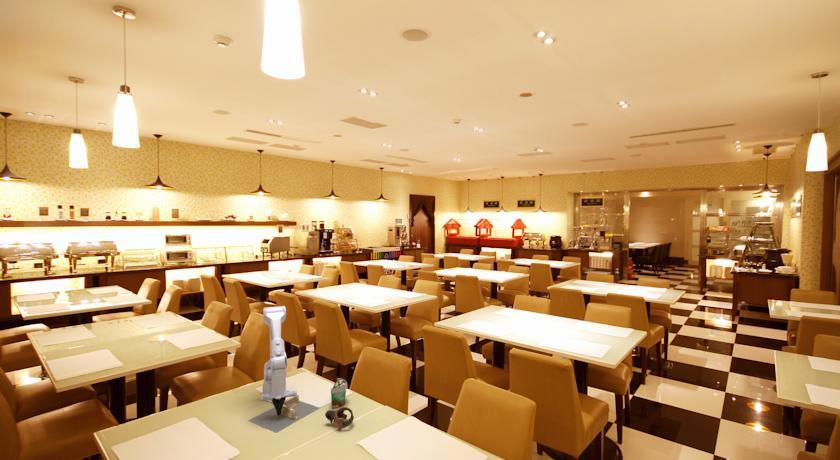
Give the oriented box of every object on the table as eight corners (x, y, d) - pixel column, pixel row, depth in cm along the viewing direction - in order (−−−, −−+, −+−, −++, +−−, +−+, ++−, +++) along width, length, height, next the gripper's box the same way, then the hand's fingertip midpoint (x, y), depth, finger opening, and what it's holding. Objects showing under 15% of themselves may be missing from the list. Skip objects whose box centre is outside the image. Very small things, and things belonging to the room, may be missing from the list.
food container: (344, 411, 179) (344, 389, 179) (330, 410, 179) (330, 388, 179) (349, 398, 191) (349, 377, 191) (337, 398, 192) (337, 377, 191)
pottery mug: (353, 418, 174) (356, 406, 170) (348, 439, 166) (352, 426, 162) (325, 412, 173) (329, 400, 169) (319, 432, 165) (323, 420, 161)
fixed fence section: (278, 412, 177) (277, 403, 177) (297, 402, 186) (297, 394, 186) (280, 413, 176) (280, 404, 176) (299, 403, 185) (299, 395, 185)
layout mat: (247, 421, 170) (247, 420, 170) (292, 398, 190) (292, 398, 190) (276, 433, 161) (276, 432, 161) (320, 408, 181) (320, 407, 181)
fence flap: (280, 413, 176) (279, 405, 176) (283, 411, 177) (283, 403, 177) (293, 419, 170) (293, 411, 170) (296, 418, 172) (296, 410, 171)
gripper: (259, 389, 166) (259, 421, 167) (296, 385, 170) (296, 416, 171) (261, 382, 173) (262, 412, 174) (296, 378, 177) (297, 408, 178)
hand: (279, 414), depth 173 cm, fingers closed
